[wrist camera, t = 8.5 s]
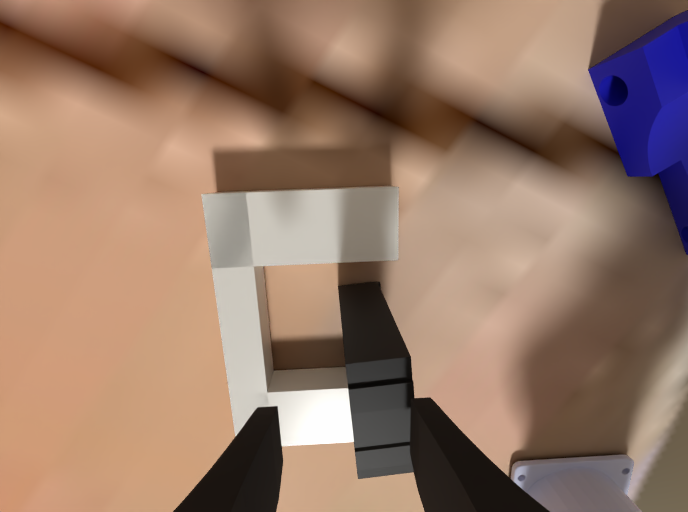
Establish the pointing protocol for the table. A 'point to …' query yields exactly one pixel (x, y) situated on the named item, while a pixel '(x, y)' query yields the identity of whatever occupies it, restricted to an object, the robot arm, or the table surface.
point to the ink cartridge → (376, 381)
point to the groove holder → (251, 302)
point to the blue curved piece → (651, 109)
